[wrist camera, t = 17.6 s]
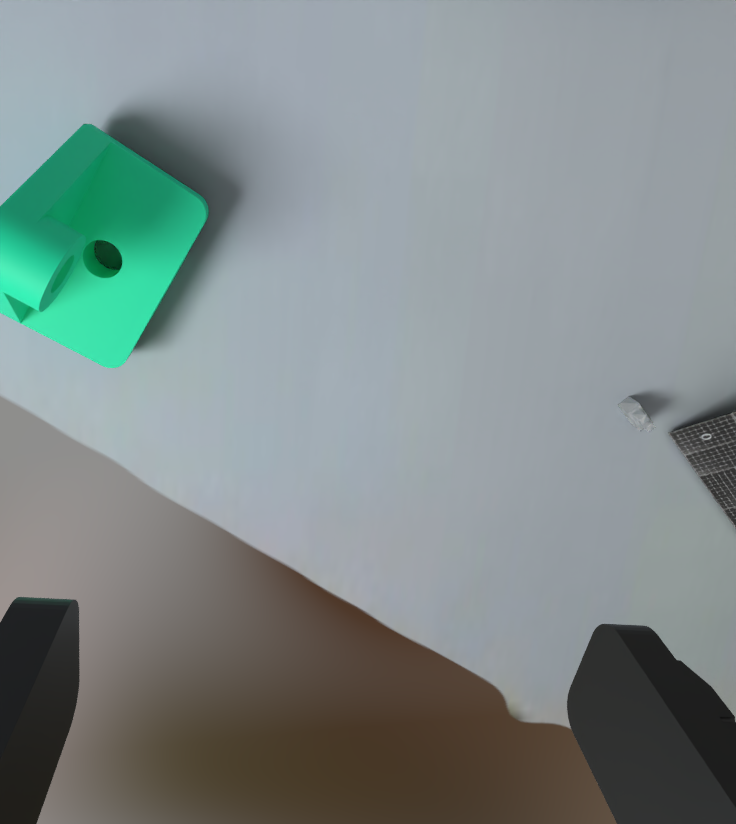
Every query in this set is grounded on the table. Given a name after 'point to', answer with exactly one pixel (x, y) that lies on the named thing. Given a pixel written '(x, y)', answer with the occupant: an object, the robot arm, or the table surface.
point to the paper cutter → (702, 451)
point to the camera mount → (75, 239)
